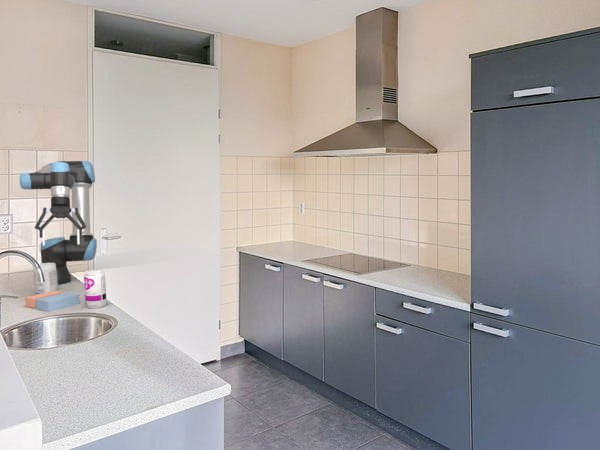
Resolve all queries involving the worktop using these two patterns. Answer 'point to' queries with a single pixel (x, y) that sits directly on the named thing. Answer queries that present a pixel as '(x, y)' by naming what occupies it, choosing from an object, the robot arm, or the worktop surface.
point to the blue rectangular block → (57, 301)
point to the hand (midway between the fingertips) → (61, 244)
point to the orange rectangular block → (31, 300)
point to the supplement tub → (46, 279)
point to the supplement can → (95, 289)
